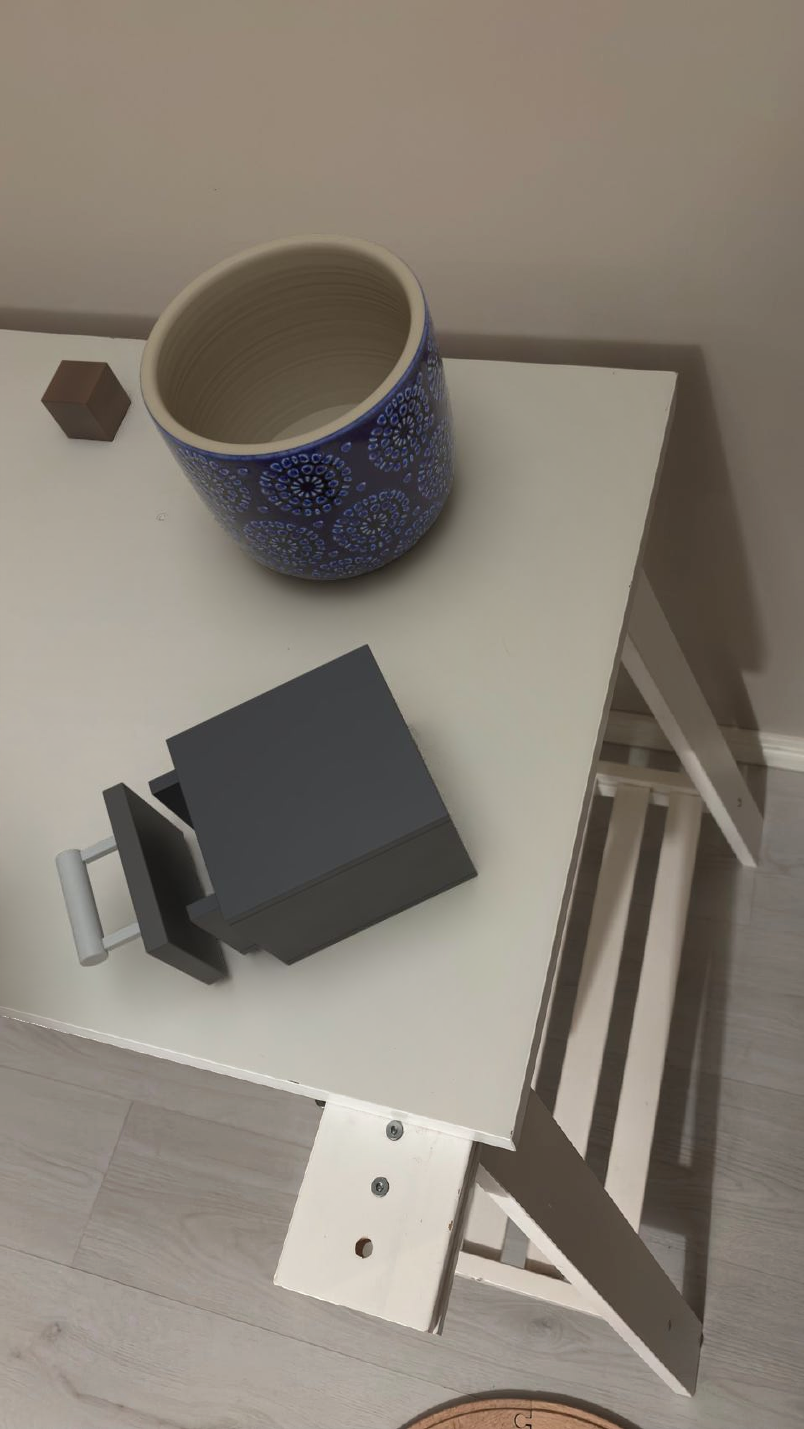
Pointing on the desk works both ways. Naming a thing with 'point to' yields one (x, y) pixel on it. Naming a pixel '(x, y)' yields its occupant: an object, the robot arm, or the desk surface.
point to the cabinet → (316, 810)
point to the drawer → (150, 888)
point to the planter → (307, 403)
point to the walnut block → (86, 400)
